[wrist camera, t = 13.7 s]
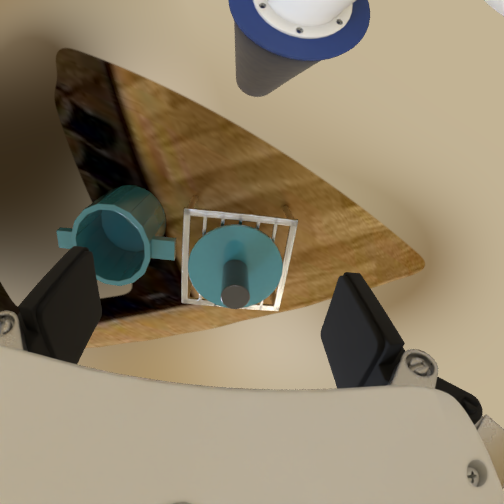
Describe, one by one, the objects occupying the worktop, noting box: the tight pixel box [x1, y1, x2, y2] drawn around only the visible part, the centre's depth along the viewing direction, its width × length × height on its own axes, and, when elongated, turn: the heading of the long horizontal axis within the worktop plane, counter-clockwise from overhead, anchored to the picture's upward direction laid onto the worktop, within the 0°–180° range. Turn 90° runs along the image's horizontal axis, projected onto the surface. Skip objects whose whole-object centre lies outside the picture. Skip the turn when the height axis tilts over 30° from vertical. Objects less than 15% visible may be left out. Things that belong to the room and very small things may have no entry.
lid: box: [188, 224, 283, 309], centre depth 32 cm, size 11×11×7 cm
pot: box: [57, 185, 176, 286], centre depth 35 cm, size 10×16×8 cm, turn 82°
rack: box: [182, 195, 298, 311], centre depth 38 cm, size 13×13×6 cm
